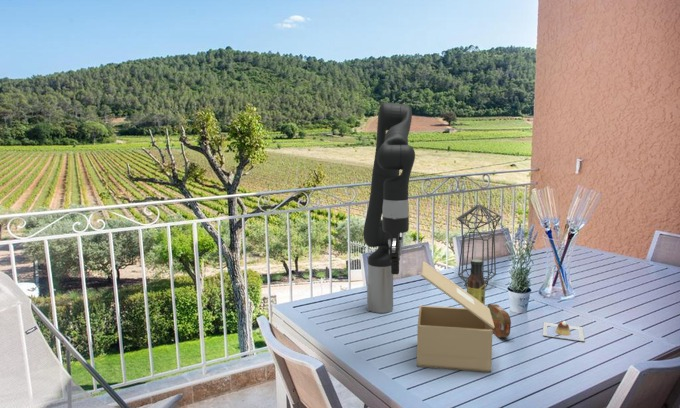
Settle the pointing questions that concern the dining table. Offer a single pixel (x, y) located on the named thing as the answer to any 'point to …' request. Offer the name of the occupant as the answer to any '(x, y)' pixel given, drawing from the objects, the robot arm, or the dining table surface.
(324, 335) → the dining table surface
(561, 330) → the dessert
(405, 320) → the dining table surface
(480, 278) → the sauce bottle
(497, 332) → the steak
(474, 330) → the carton
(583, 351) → the dining table surface
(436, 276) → the lid flap
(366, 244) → the robot arm
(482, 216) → the geometric lantern
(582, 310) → the dining table surface
